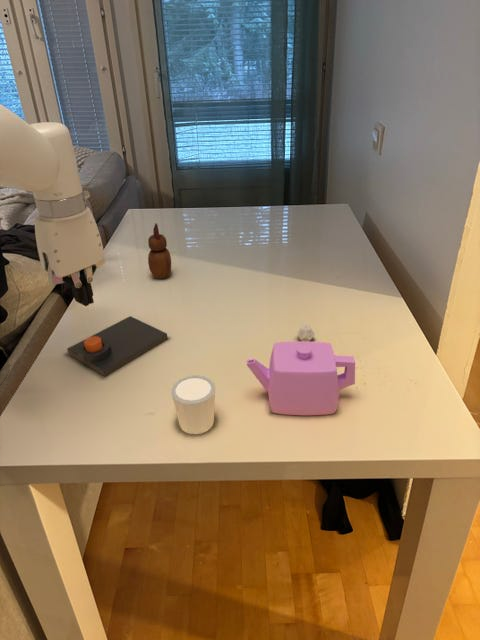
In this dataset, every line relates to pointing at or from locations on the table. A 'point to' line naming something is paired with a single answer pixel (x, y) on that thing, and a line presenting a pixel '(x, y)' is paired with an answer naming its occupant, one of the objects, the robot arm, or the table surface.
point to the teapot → (304, 377)
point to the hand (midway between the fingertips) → (85, 302)
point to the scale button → (93, 344)
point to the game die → (305, 333)
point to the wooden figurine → (159, 255)
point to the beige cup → (194, 403)
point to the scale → (119, 345)
